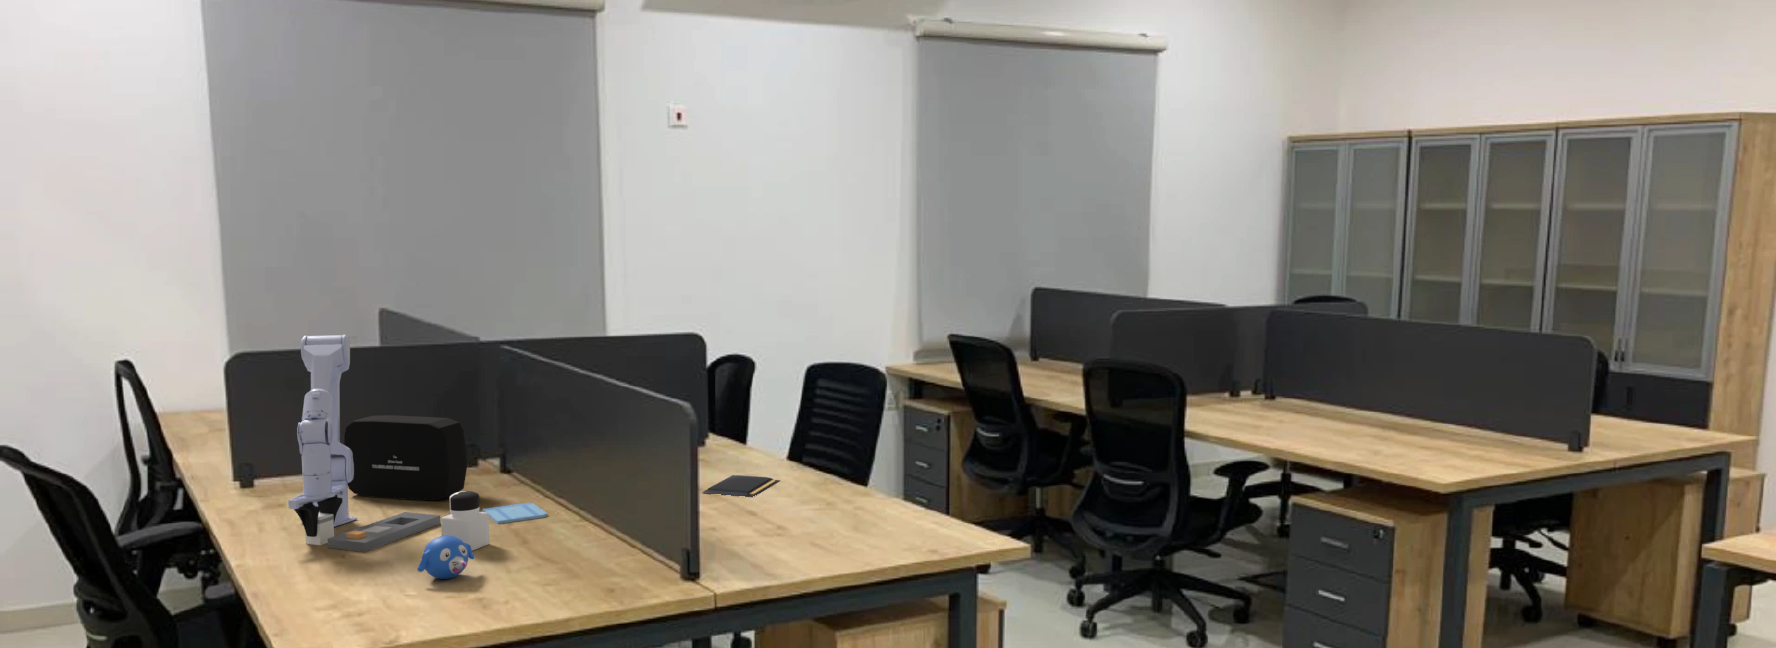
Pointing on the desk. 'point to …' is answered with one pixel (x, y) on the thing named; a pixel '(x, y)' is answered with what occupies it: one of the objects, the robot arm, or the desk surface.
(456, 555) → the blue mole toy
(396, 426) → the black hard case
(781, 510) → the desk surface
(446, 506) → the desk surface
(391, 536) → the grey slab
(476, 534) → the medicine bottle
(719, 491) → the black notebook
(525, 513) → the light blue flat rectangle
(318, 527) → the block
